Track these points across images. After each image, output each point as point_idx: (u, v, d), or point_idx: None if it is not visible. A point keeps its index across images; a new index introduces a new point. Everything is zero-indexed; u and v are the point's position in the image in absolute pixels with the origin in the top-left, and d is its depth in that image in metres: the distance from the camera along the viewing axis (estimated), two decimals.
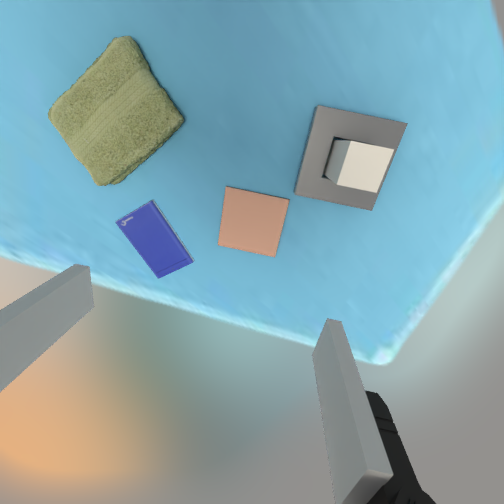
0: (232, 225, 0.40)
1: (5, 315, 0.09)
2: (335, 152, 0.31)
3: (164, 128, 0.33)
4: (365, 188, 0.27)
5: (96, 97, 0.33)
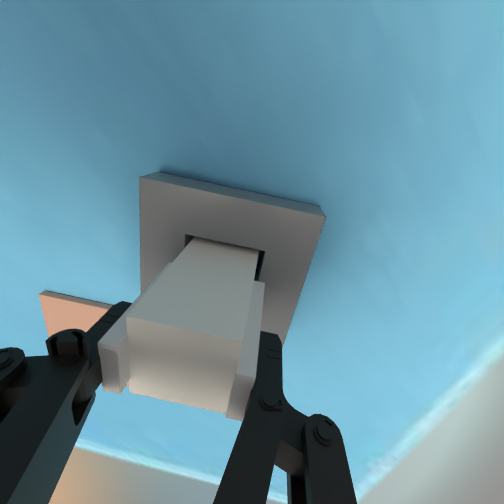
0: None
1: None
2: None
3: None
4: (197, 404, 0.11)
5: None
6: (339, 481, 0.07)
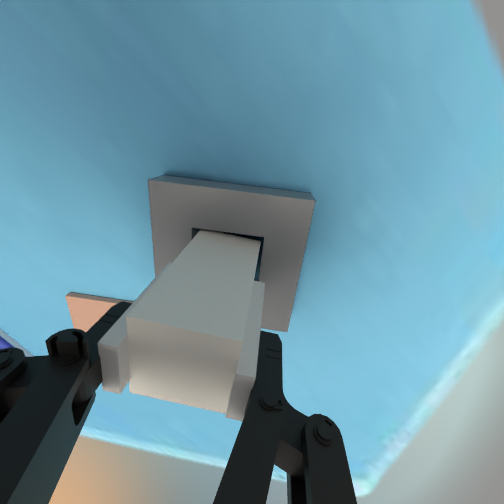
0: None
1: None
2: None
3: None
4: (197, 404, 0.11)
5: None
6: (339, 481, 0.07)
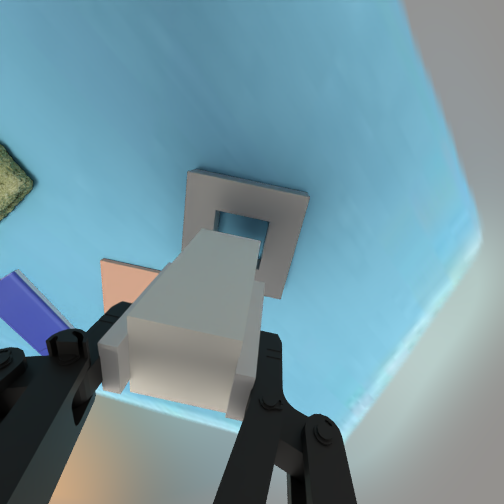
0: None
1: None
2: None
3: (0, 195, 0.25)
4: (198, 403, 0.11)
5: None
6: (339, 481, 0.07)
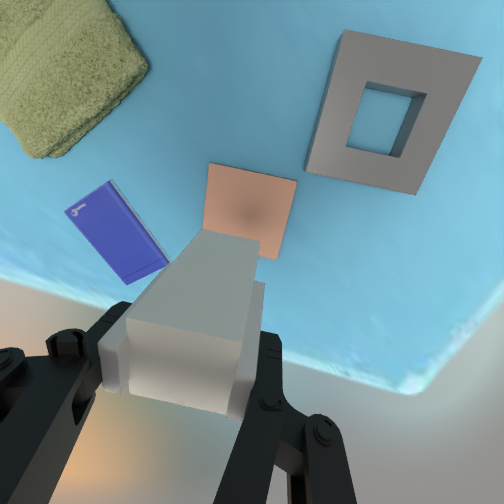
0: (219, 217, 0.30)
1: None
2: None
3: (118, 75, 0.23)
4: (197, 405, 0.11)
5: (14, 21, 0.22)
6: (339, 481, 0.07)
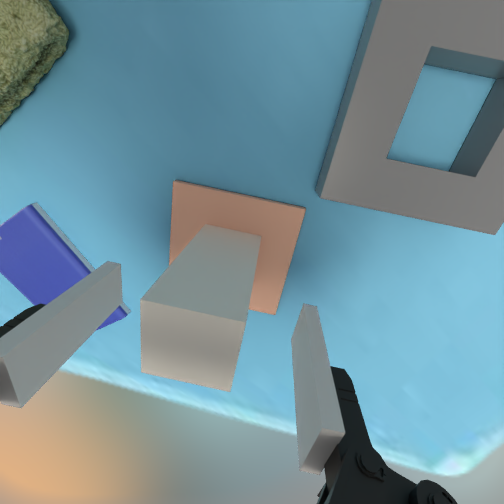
0: None
1: (54, 307, 0.10)
2: None
3: (12, 42, 0.14)
4: (204, 383, 0.12)
5: None
6: None
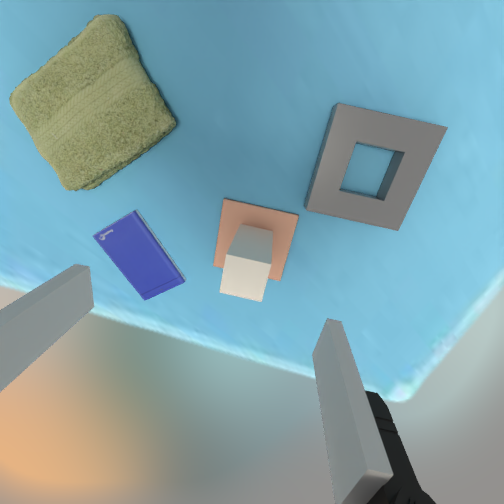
0: (230, 243, 0.34)
1: (5, 315, 0.09)
2: None
3: (151, 131, 0.28)
4: (249, 297, 0.26)
5: (69, 85, 0.26)
6: None
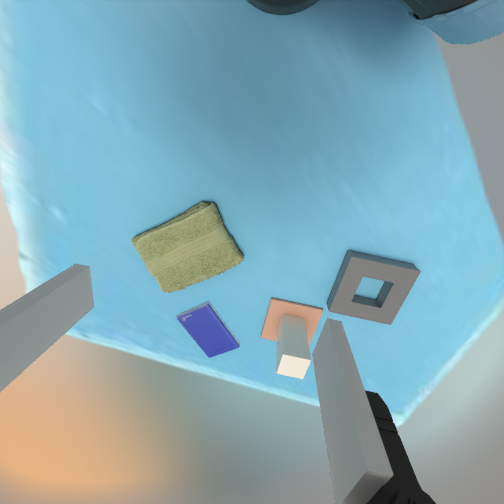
0: (274, 324, 0.49)
1: (5, 315, 0.09)
2: (280, 335, 0.44)
3: (229, 266, 0.42)
4: (295, 376, 0.41)
5: (178, 240, 0.41)
6: None
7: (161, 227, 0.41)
